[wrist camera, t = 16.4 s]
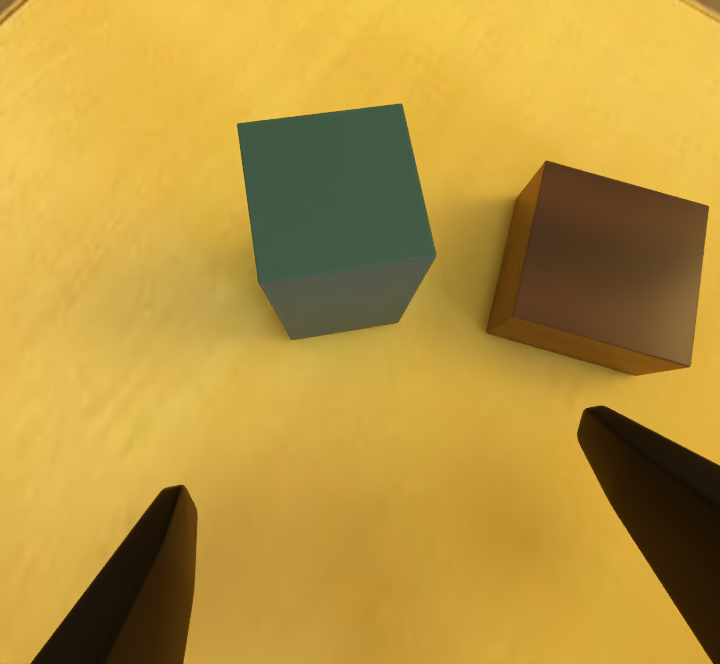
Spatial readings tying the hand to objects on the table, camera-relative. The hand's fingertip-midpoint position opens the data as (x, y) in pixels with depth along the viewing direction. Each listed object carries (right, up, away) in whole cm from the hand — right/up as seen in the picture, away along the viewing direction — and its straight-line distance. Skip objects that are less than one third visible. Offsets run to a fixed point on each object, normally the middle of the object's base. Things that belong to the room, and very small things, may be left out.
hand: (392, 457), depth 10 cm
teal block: (-2, +5, +13) cm, 14 cm away
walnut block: (+11, +5, +13) cm, 18 cm away
